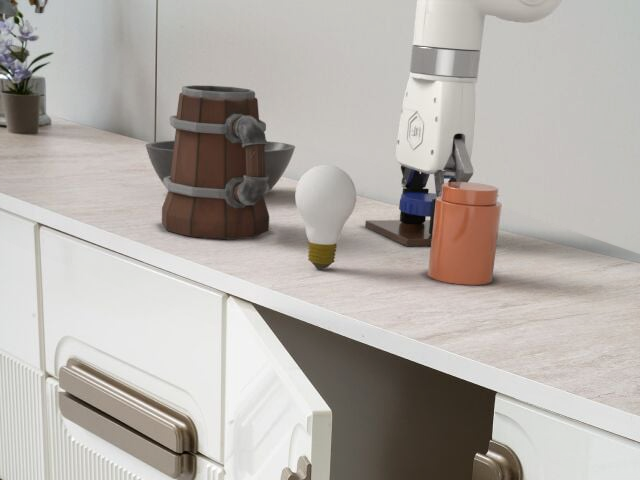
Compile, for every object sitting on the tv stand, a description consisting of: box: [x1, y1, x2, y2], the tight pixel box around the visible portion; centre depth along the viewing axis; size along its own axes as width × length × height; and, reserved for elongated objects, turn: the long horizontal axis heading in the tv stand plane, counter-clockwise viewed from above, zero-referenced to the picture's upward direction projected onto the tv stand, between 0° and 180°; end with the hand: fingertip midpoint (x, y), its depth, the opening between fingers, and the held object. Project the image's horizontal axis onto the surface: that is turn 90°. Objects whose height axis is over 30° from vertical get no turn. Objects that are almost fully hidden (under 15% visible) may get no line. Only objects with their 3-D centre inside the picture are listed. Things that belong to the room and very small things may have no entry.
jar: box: [427, 181, 503, 286], centre depth 110 cm, size 6×6×9 cm
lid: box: [398, 192, 436, 218], centre depth 130 cm, size 7×7×2 cm
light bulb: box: [294, 164, 357, 270], centre depth 109 cm, size 6×6×10 cm
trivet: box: [364, 219, 432, 247], centre depth 131 cm, size 11×11×1 cm
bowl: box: [145, 139, 296, 196], centre depth 148 cm, size 12×22×6 cm, turn 130°
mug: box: [161, 84, 270, 240], centre depth 122 cm, size 16×12×15 cm
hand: (426, 227), depth 131 cm, fingers closed on lid, 6 cm apart
